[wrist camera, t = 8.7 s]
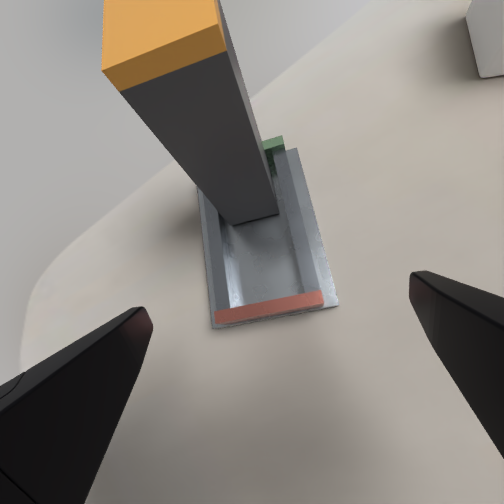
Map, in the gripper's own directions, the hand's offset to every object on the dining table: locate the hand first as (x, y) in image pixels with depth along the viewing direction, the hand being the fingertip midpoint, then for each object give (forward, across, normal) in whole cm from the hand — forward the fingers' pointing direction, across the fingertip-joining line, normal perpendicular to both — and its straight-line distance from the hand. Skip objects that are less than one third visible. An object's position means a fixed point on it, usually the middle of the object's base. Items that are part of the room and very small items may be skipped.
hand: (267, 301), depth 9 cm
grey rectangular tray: (+12, +2, +2) cm, 13 cm away
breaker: (+13, +2, -1) cm, 14 cm away
